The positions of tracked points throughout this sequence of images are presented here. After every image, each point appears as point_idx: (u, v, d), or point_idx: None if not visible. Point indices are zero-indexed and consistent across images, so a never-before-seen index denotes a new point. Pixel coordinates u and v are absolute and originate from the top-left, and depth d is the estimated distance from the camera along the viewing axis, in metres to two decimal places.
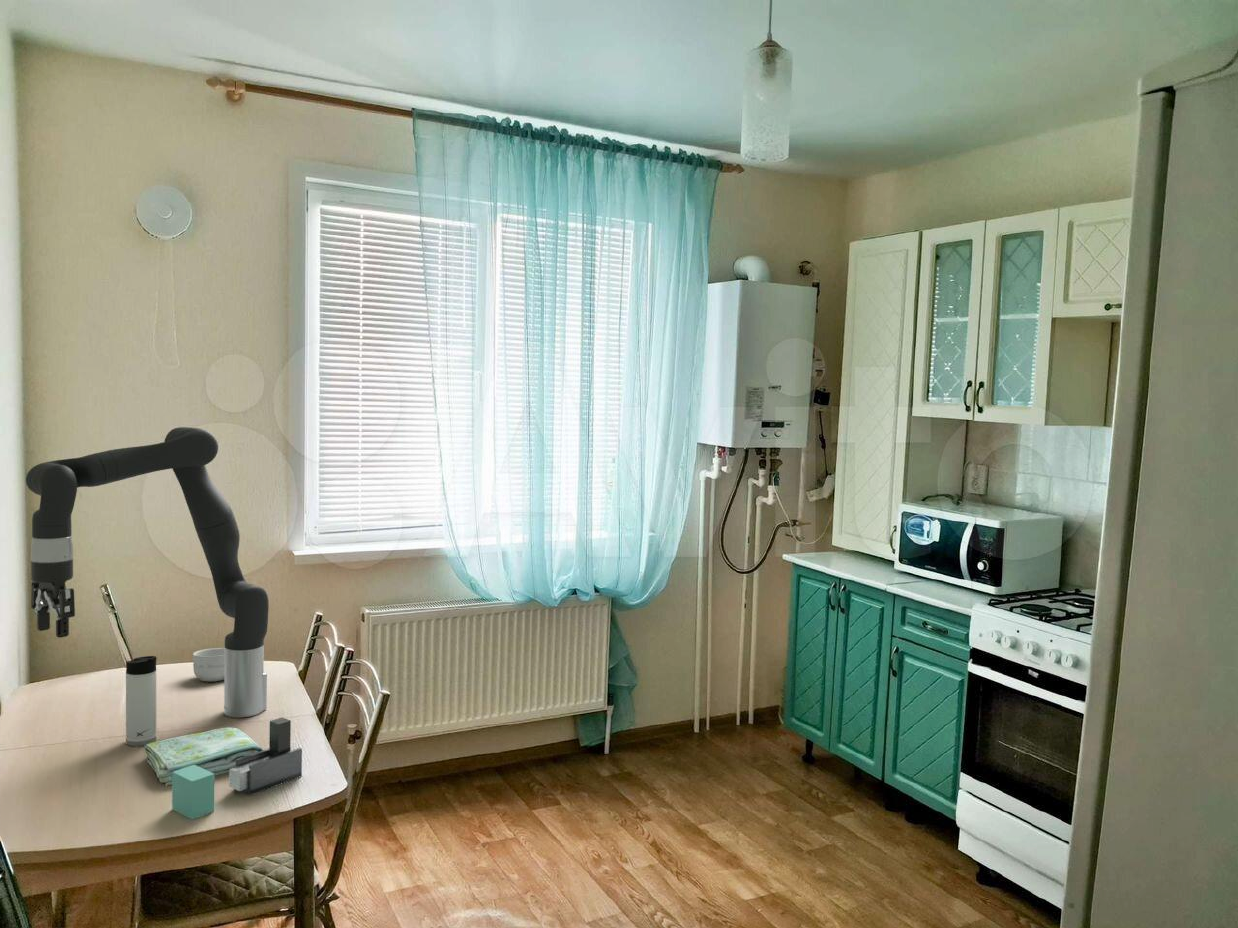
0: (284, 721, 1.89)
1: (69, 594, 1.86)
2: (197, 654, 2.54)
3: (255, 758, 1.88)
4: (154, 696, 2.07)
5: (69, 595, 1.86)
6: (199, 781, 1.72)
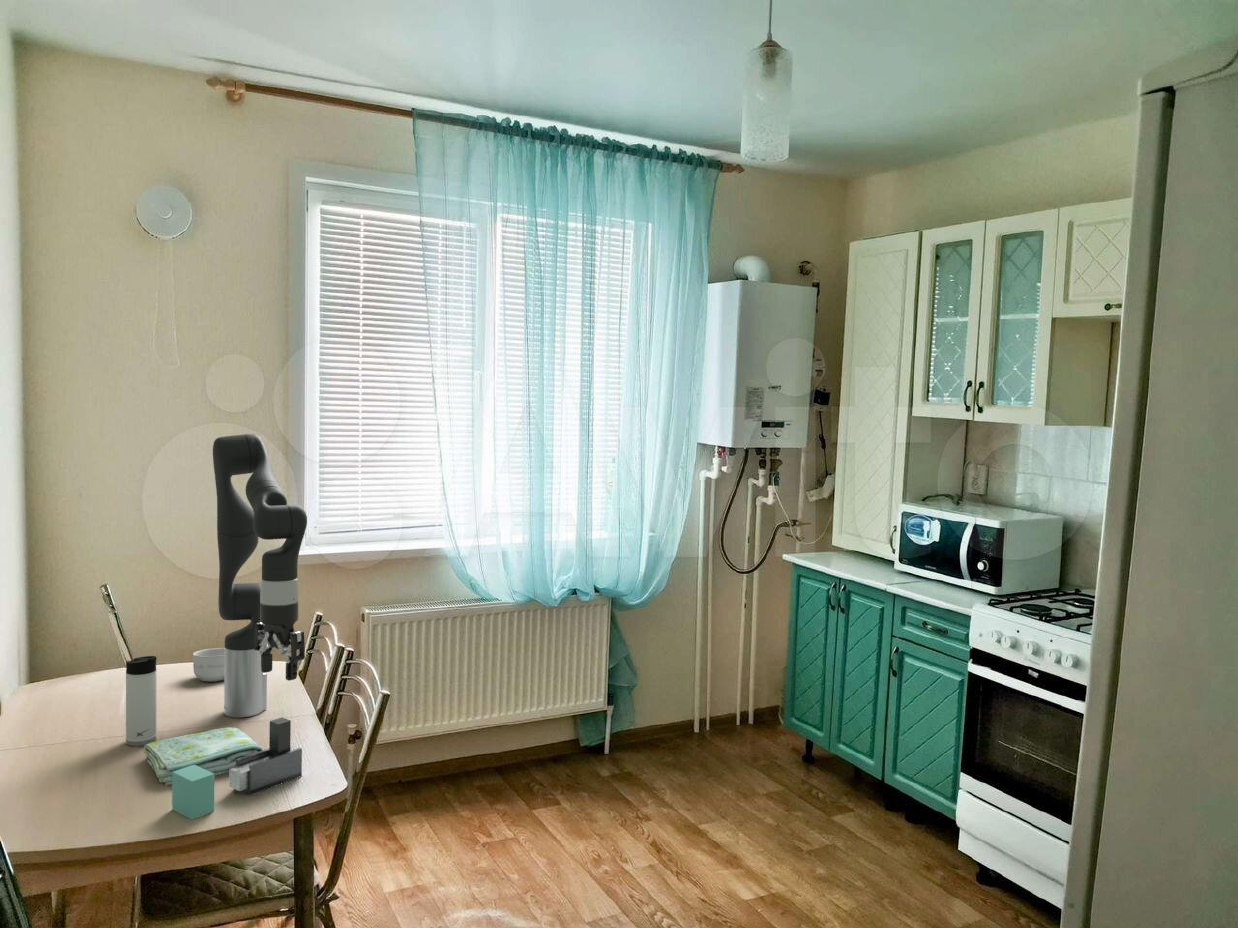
0: (284, 721, 1.89)
1: (300, 637, 1.85)
2: (197, 654, 2.54)
3: (255, 758, 1.88)
4: (154, 696, 2.07)
5: (300, 638, 1.85)
6: (199, 781, 1.72)
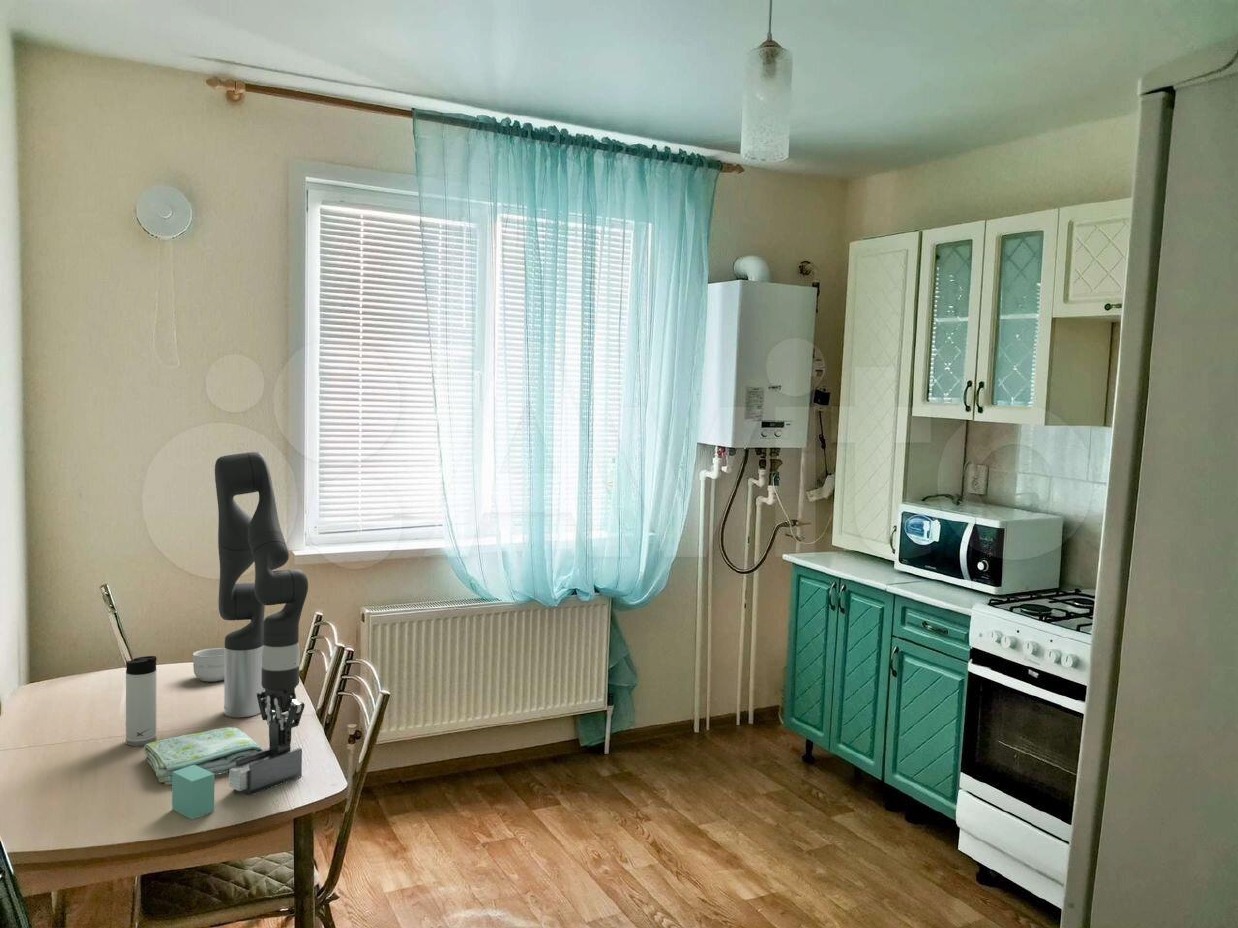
0: None
1: (300, 709, 1.86)
2: (197, 654, 2.54)
3: (255, 758, 1.88)
4: (154, 696, 2.07)
5: (299, 710, 1.86)
6: (199, 781, 1.72)
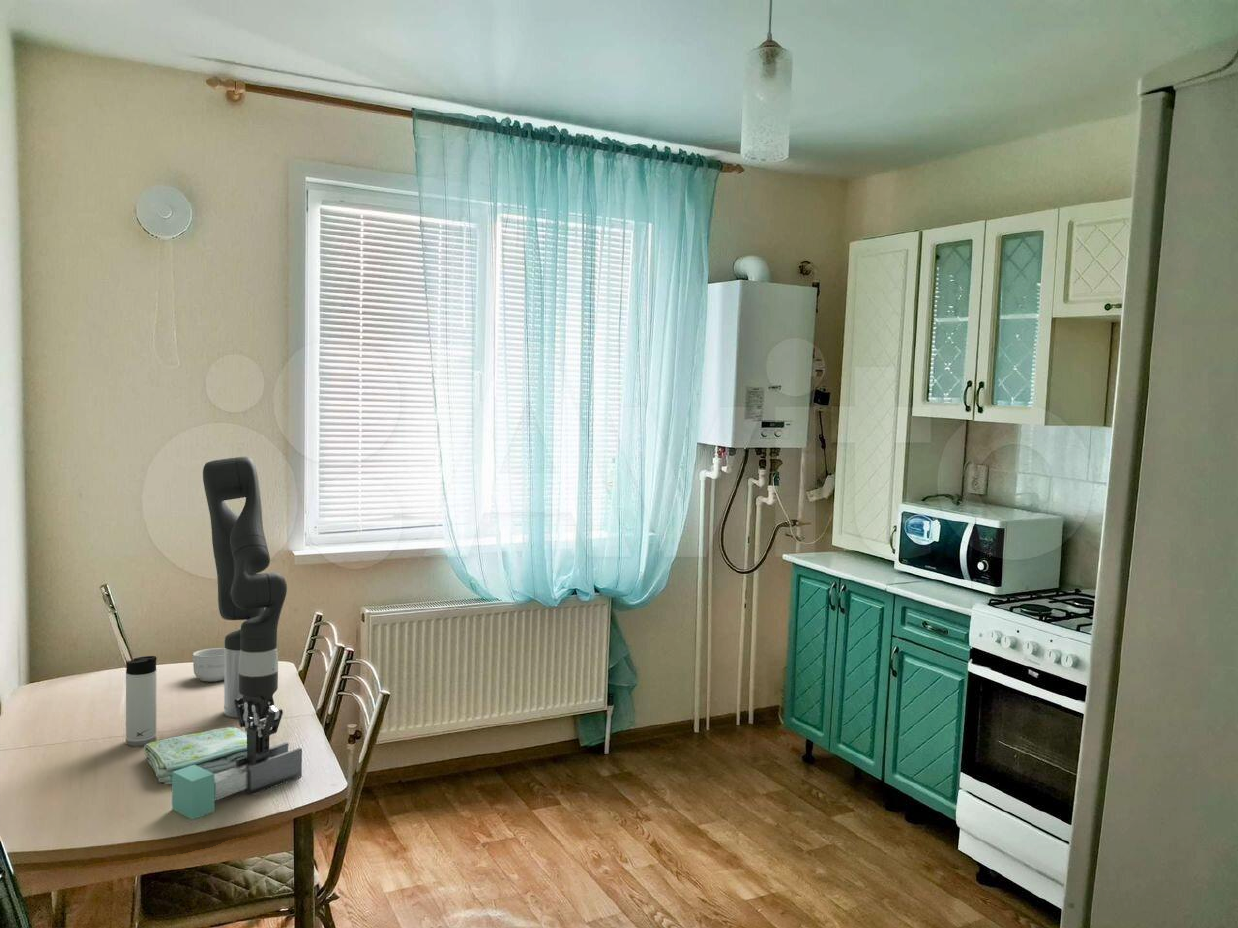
0: None
1: (278, 716, 1.82)
2: (197, 654, 2.54)
3: None
4: (154, 696, 2.07)
5: (277, 717, 1.82)
6: (199, 781, 1.72)
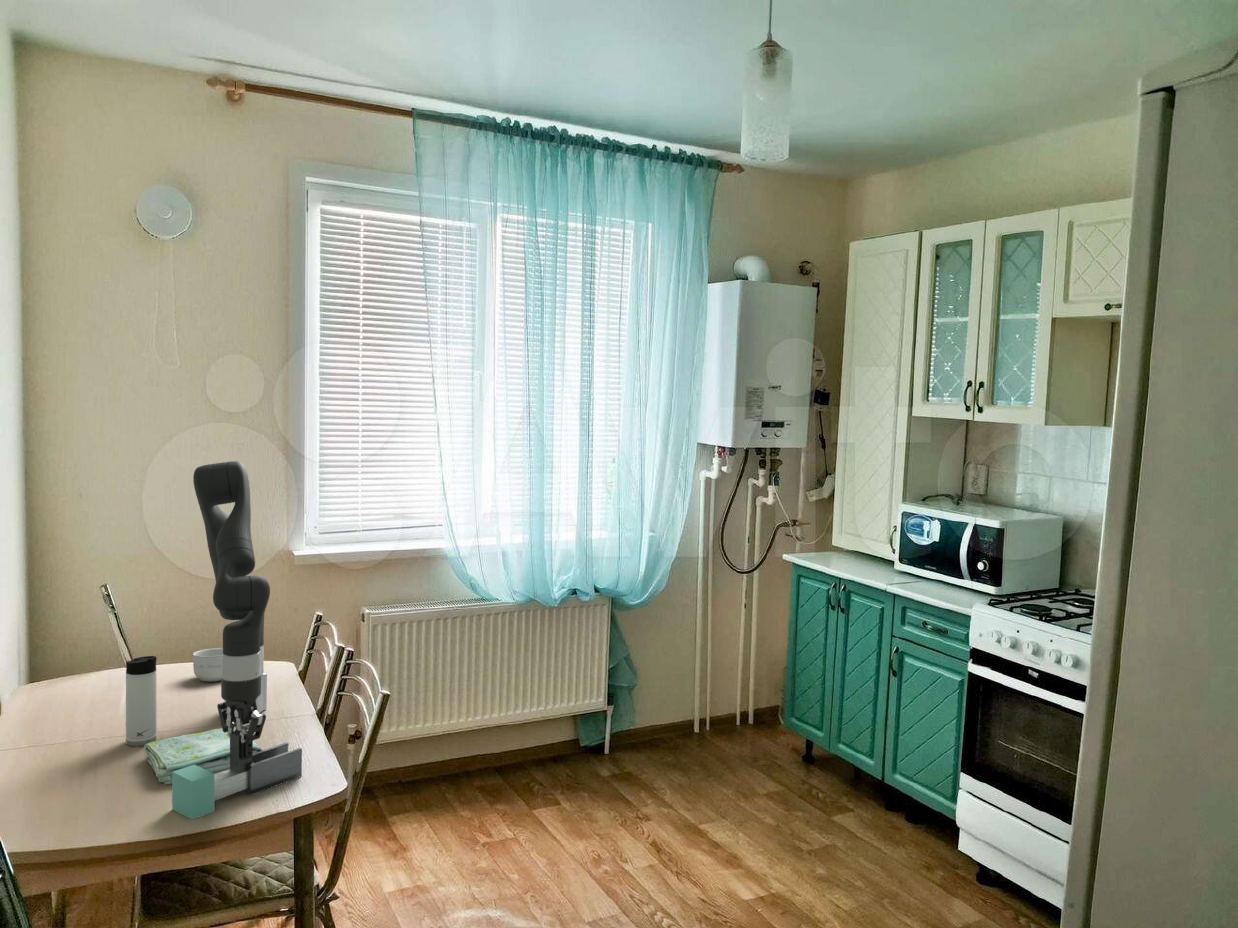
0: None
1: (261, 721, 1.79)
2: (197, 654, 2.54)
3: (255, 758, 1.88)
4: (154, 696, 2.07)
5: (260, 722, 1.79)
6: (199, 781, 1.72)
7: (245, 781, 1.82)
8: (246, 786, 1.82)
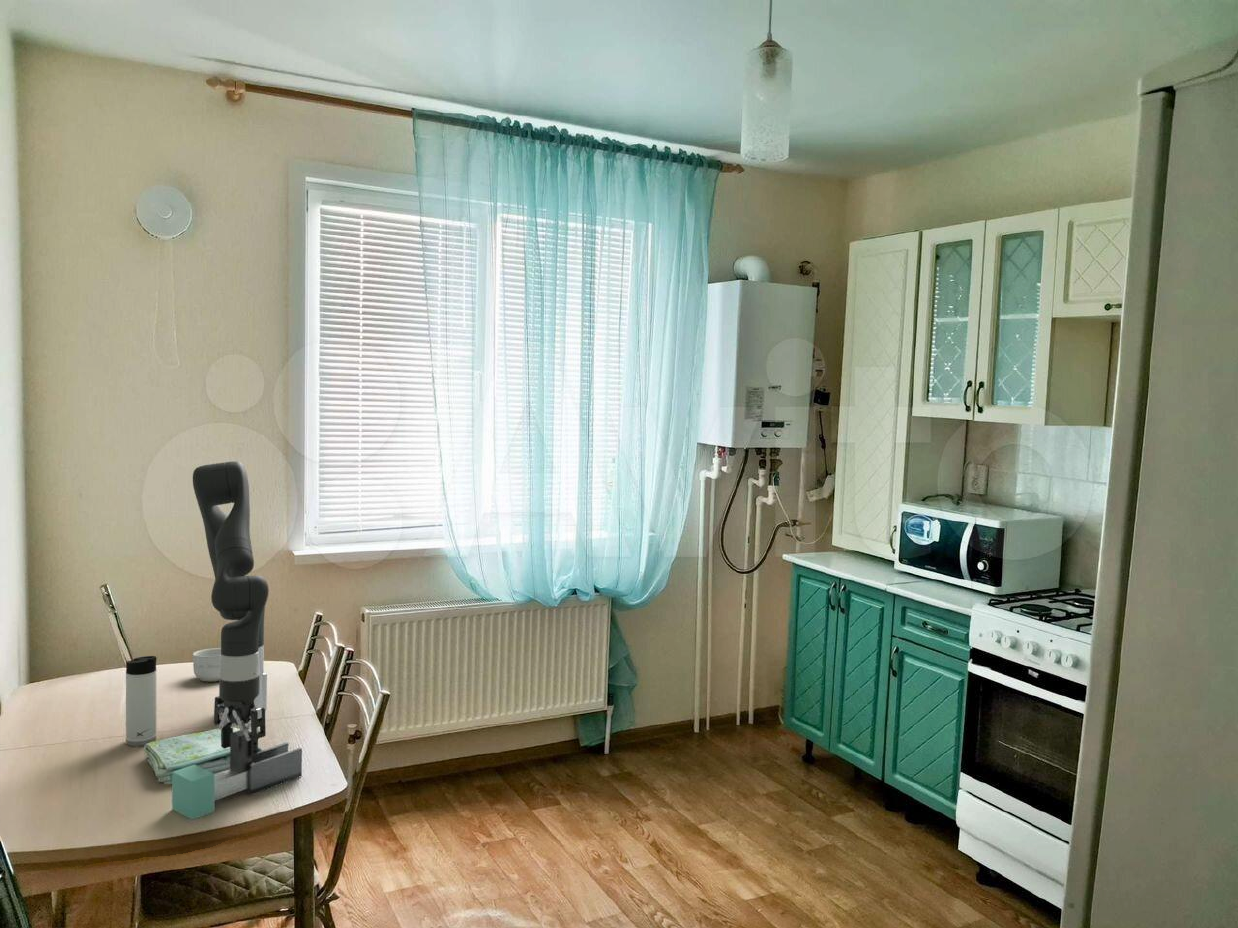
0: None
1: (261, 714, 1.78)
2: (197, 654, 2.54)
3: (255, 758, 1.88)
4: (154, 696, 2.07)
5: (261, 715, 1.78)
6: (199, 781, 1.72)
7: (245, 781, 1.82)
8: (246, 786, 1.82)
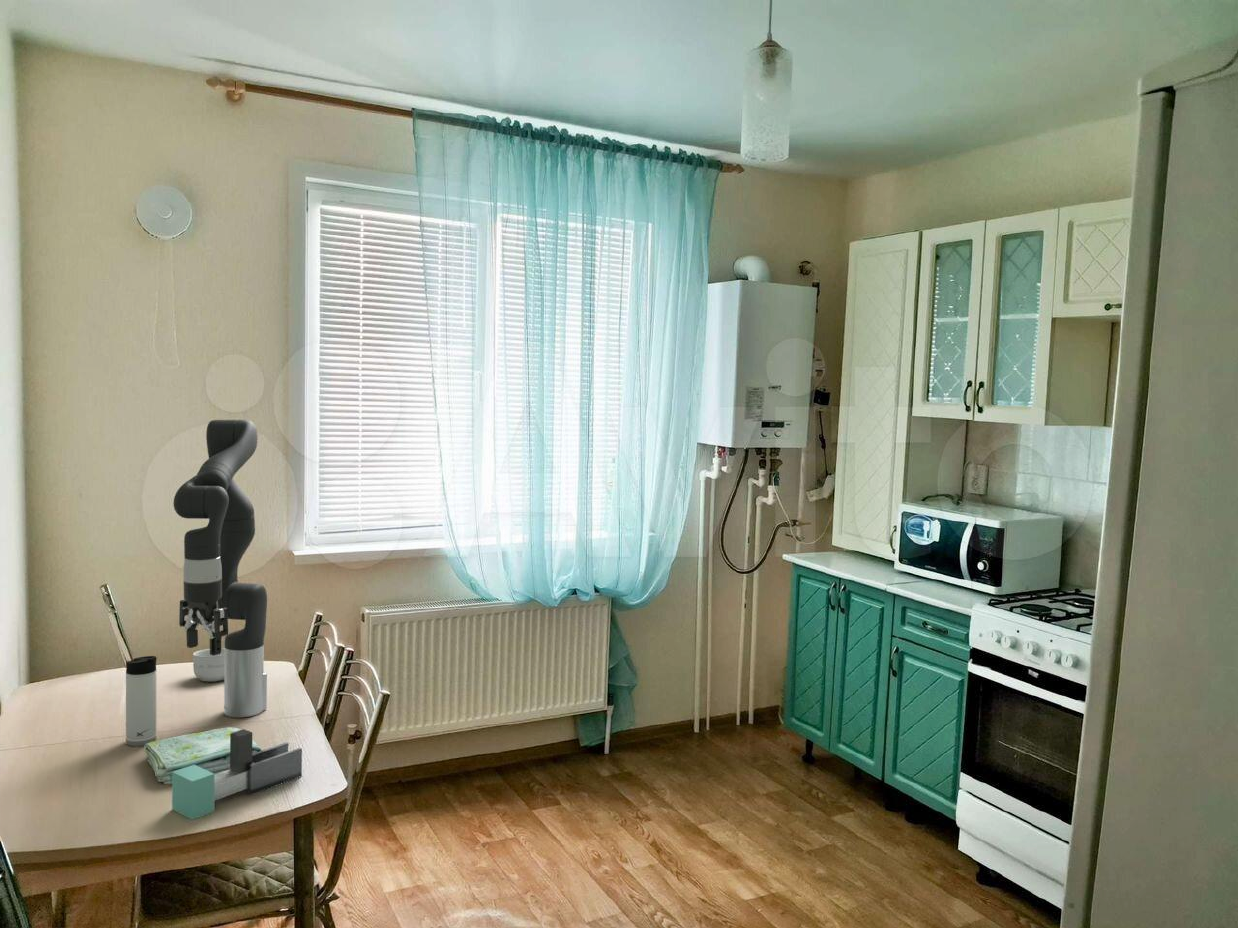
0: (245, 733, 1.82)
1: (223, 613, 1.90)
2: (197, 654, 2.54)
3: (255, 758, 1.88)
4: (154, 696, 2.07)
5: (223, 614, 1.90)
6: (199, 781, 1.72)
7: (245, 781, 1.82)
8: (246, 786, 1.82)
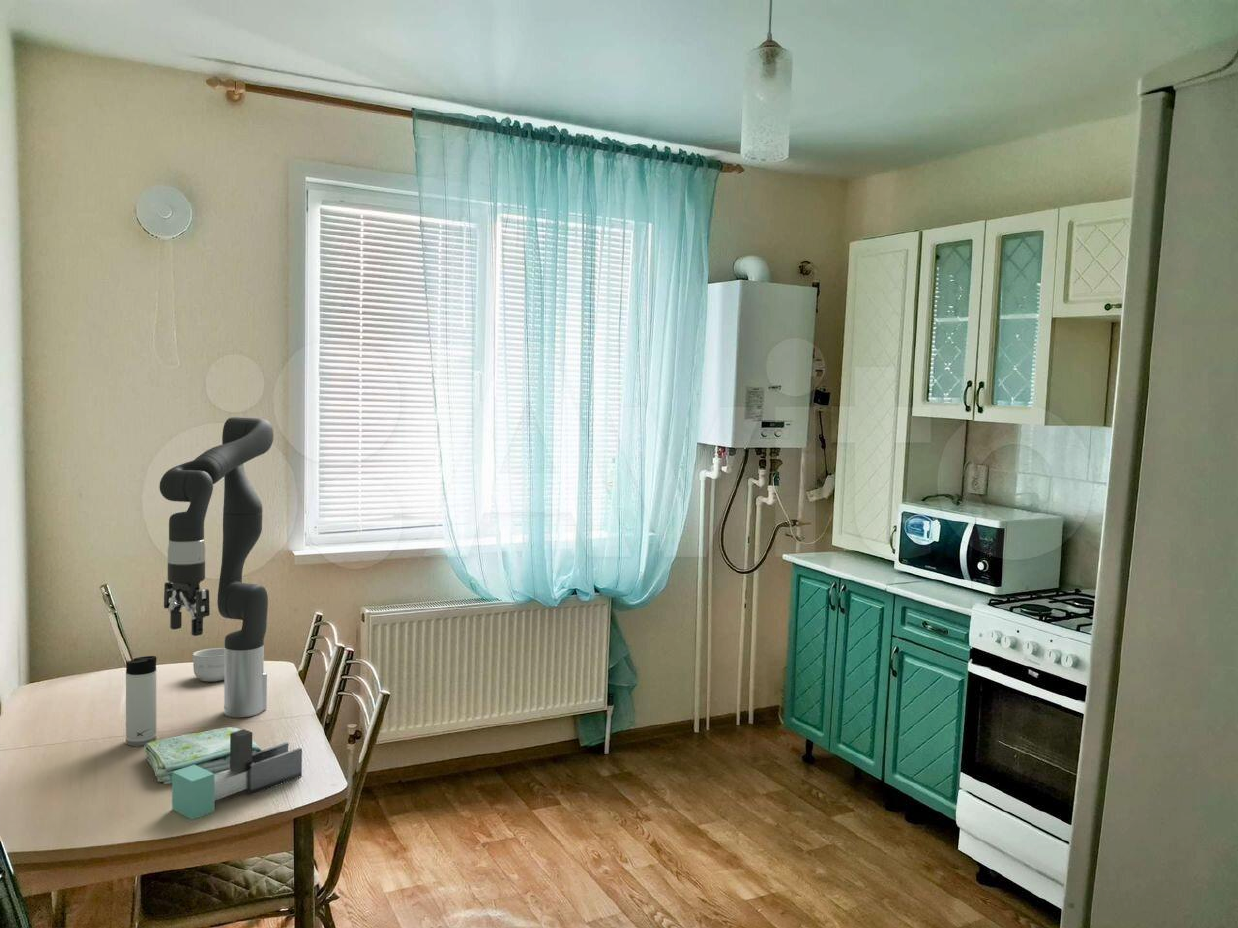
0: (245, 733, 1.82)
1: (205, 594, 1.95)
2: (197, 654, 2.54)
3: (255, 758, 1.88)
4: (154, 696, 2.07)
5: (205, 595, 1.95)
6: (199, 781, 1.72)
7: (245, 781, 1.82)
8: (246, 786, 1.82)
